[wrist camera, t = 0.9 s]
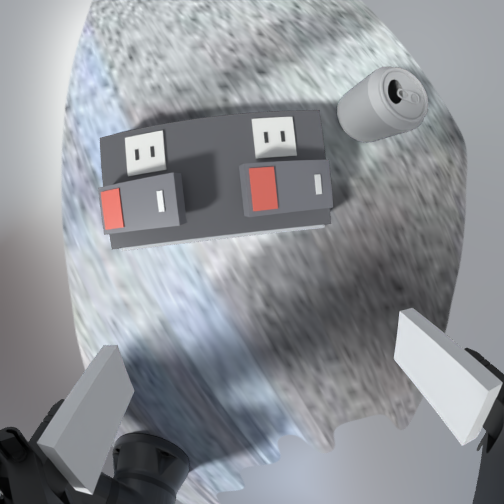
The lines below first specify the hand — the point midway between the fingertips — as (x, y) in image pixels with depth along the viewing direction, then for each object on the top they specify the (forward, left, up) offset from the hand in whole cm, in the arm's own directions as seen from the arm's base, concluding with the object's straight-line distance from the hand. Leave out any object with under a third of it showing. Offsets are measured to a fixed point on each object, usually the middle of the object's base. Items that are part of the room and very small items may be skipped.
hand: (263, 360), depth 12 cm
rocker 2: (+7, -5, -19) cm, 21 cm away
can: (+16, -18, -26) cm, 35 cm away
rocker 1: (+7, +10, -19) cm, 23 cm away
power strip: (+9, +2, -25) cm, 27 cm away
